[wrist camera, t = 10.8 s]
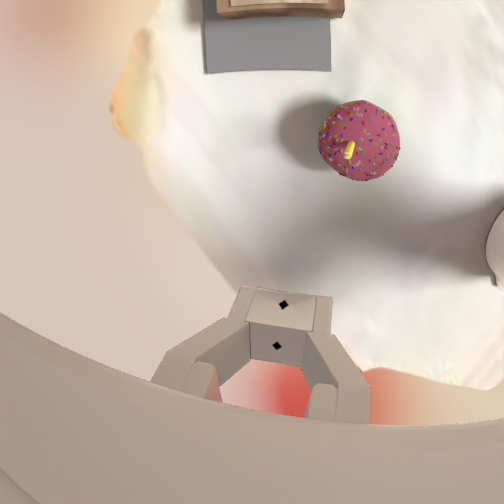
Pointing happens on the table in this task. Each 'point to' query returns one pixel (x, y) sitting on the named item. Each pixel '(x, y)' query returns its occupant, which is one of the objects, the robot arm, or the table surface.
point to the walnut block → (280, 8)
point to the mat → (265, 42)
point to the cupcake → (359, 140)
